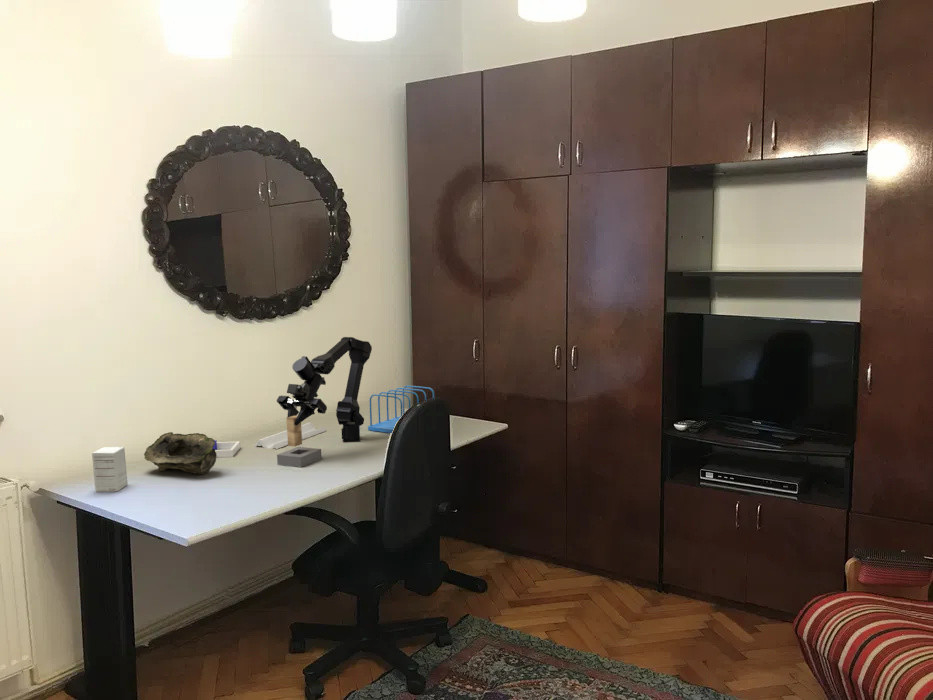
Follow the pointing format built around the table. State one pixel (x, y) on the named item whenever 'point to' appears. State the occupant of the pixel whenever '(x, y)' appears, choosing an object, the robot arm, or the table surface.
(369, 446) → the table surface
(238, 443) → the tray
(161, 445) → the hollow geode rock
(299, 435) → the tan wooden block
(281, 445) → the crown molding
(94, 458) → the supplement box
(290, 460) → the end cap
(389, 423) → the file sorter
